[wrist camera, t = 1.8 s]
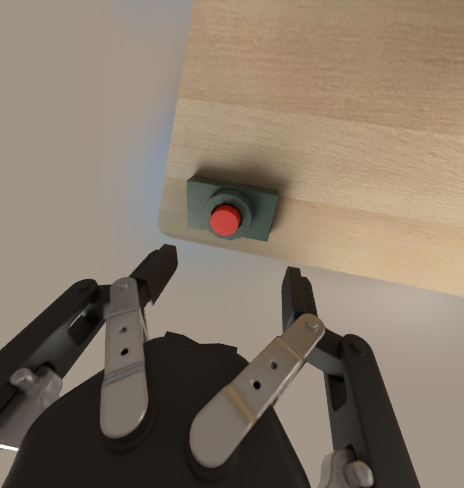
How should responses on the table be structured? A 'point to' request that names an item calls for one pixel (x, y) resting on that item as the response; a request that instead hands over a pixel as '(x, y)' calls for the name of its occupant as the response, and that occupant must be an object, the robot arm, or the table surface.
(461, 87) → the table surface
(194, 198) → the control pad
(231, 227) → the stop button
